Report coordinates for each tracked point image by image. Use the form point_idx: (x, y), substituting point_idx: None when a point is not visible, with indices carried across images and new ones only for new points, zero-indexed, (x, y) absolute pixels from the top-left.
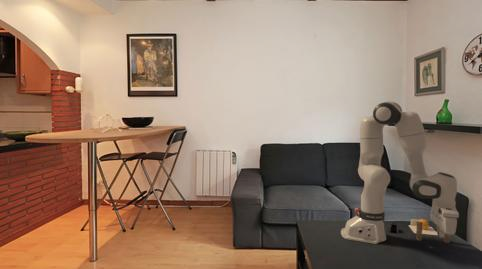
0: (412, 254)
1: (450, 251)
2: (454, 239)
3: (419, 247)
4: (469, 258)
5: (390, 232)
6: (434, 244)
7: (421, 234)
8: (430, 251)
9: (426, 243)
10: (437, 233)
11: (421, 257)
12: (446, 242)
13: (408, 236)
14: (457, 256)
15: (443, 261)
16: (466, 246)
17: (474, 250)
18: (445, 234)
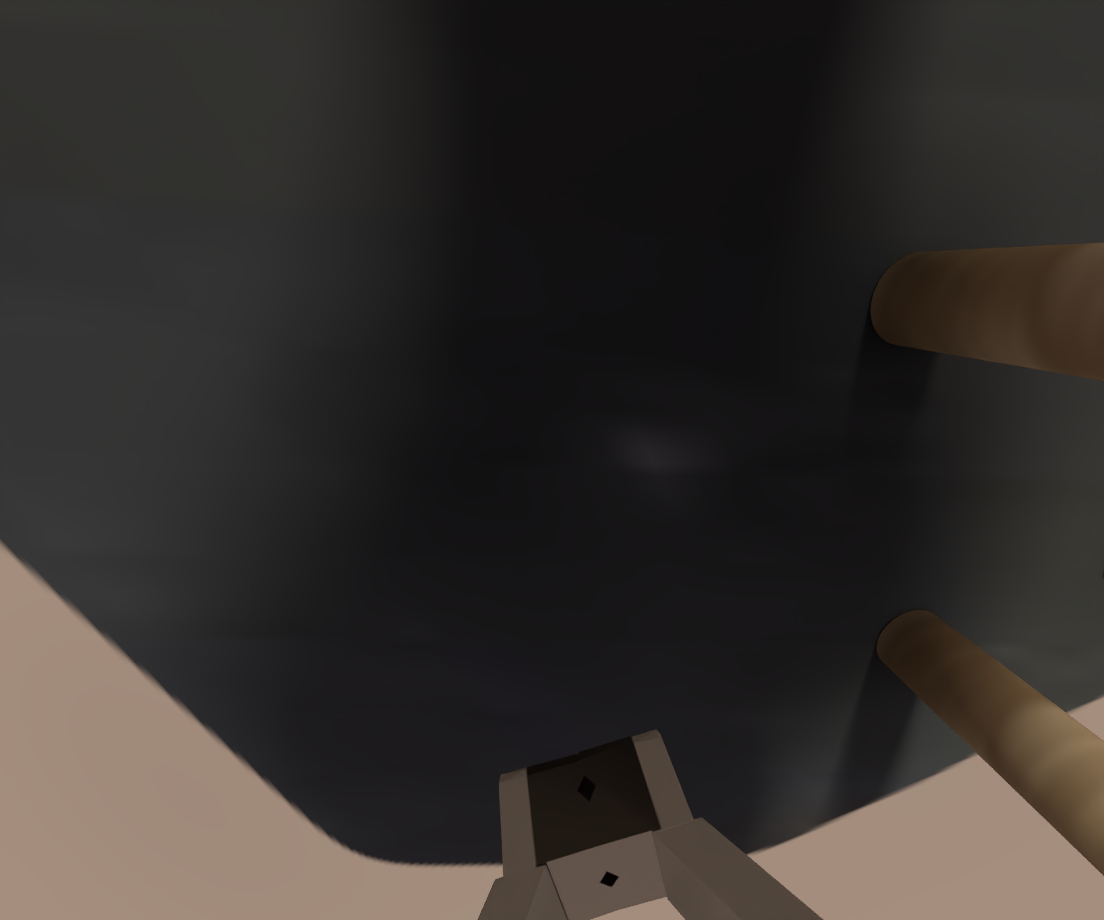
0: (106, 134)
1: (603, 668)
2: None
3: (551, 289)
4: (488, 815)
5: None
6: (773, 507)
7: (972, 347)
8: (465, 449)
9: (774, 405)
10: (654, 758)
11: (83, 301)
12: (881, 637)
13: (1016, 111)
14: (477, 727)
15: (178, 596)
16: (827, 792)
17: (741, 843)
18: (990, 710)
